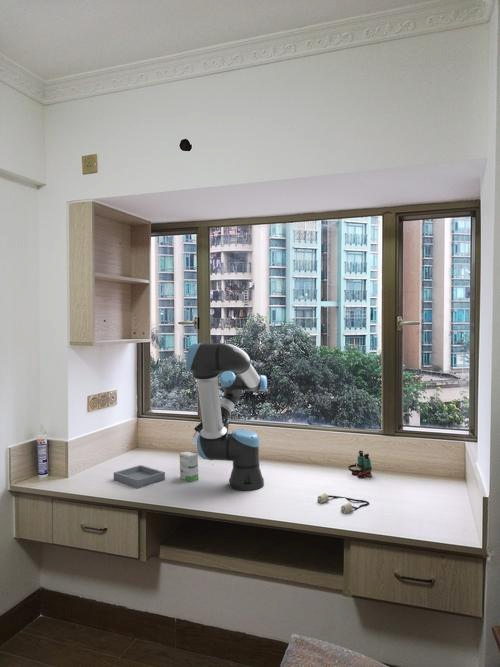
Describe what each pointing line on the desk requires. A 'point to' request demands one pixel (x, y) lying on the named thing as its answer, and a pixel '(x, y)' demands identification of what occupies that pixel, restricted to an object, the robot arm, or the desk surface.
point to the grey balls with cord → (344, 508)
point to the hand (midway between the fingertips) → (201, 446)
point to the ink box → (189, 466)
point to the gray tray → (139, 476)
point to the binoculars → (362, 466)
